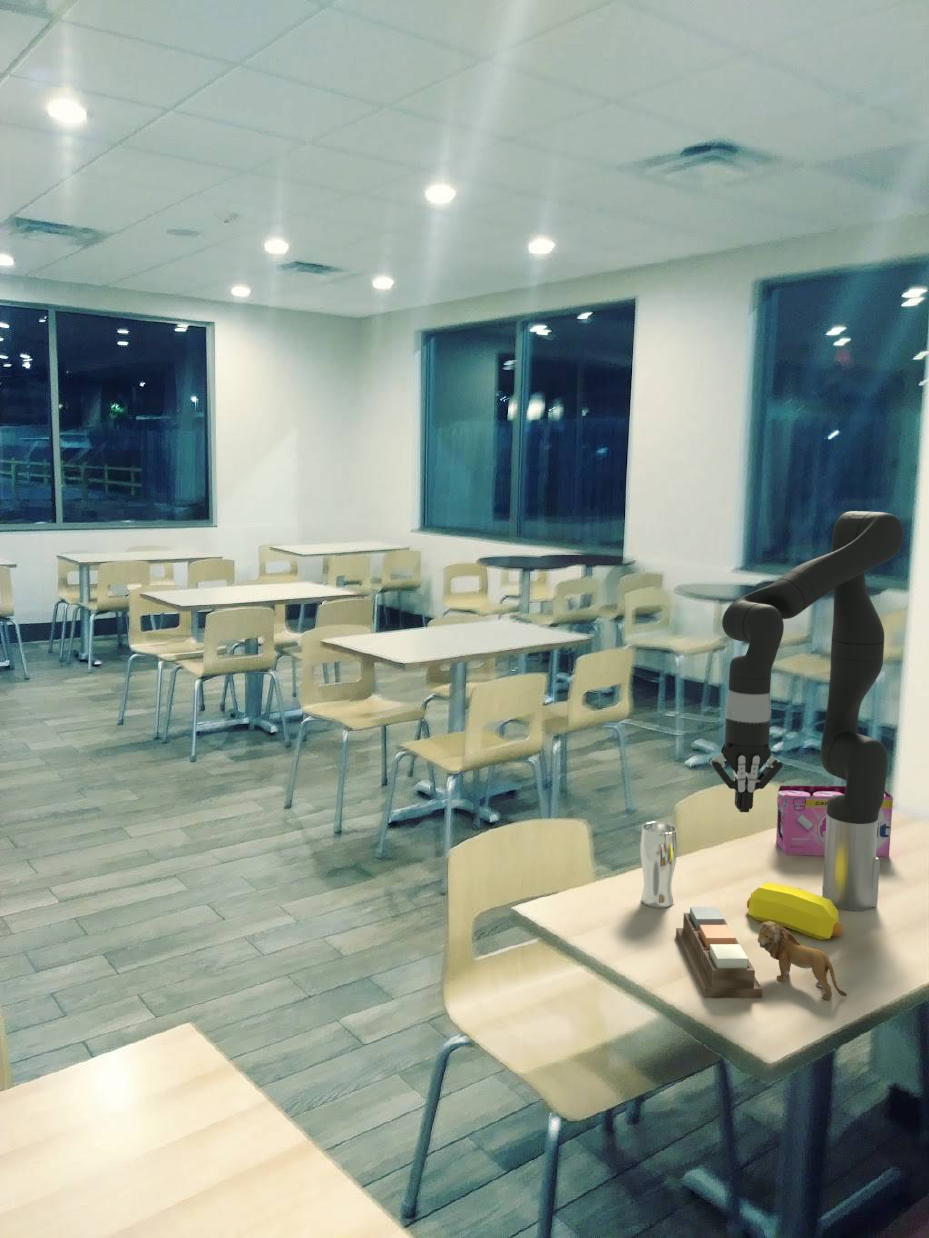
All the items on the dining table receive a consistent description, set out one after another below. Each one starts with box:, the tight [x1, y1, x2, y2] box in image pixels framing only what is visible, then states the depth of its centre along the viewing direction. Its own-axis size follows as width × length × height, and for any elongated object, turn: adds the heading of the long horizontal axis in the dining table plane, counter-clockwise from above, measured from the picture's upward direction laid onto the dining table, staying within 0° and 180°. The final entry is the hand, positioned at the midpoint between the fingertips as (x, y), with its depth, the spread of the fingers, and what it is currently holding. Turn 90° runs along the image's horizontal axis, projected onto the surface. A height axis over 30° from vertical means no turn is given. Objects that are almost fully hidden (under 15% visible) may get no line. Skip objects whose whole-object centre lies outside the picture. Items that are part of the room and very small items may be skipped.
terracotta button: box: [699, 924, 737, 947], centre depth 163 cm, size 5×5×3 cm
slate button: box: [689, 906, 725, 928], centre depth 170 cm, size 5×5×3 cm
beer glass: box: [639, 821, 678, 909], centre depth 187 cm, size 7×7×15 cm
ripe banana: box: [746, 881, 843, 941], centre depth 178 cm, size 18×7×8 cm
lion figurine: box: [757, 921, 848, 1001], centre depth 157 cm, size 15×5×9 cm, turn 51°
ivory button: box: [710, 943, 749, 968], centre depth 156 cm, size 5×5×3 cm
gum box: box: [775, 784, 894, 857], centre depth 214 cm, size 24×8×14 cm, turn 88°
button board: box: [675, 912, 763, 999], centre depth 163 cm, size 9×21×4 cm, turn 0°
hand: (743, 810), depth 172 cm, fingers closed
